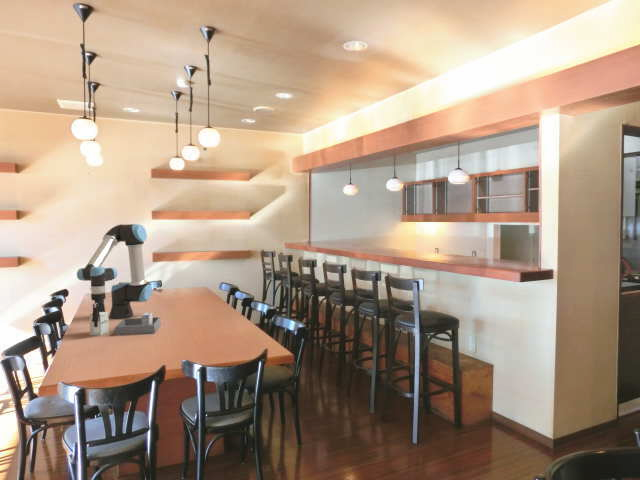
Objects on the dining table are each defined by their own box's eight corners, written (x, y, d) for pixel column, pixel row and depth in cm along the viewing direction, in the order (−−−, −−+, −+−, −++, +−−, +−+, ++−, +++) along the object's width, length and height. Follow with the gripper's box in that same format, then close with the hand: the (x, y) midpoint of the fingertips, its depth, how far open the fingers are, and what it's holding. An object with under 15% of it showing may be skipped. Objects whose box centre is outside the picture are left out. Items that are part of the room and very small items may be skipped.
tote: (124, 326, 280) (123, 318, 280) (160, 324, 284) (160, 317, 284) (115, 335, 259) (114, 327, 258) (154, 333, 263) (154, 325, 263)
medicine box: (145, 326, 276) (145, 312, 276) (152, 326, 277) (152, 312, 276) (141, 329, 268) (141, 315, 268) (149, 329, 269) (148, 315, 268)
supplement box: (100, 336, 258) (100, 314, 258) (89, 335, 260) (89, 314, 259) (109, 332, 265) (108, 311, 265) (98, 332, 267) (97, 311, 266)
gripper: (97, 290, 272) (98, 325, 273) (85, 296, 249) (86, 335, 250) (110, 289, 273) (111, 325, 274) (99, 296, 251) (100, 334, 252)
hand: (99, 330), depth 262 cm, fingers open, 10 cm apart
